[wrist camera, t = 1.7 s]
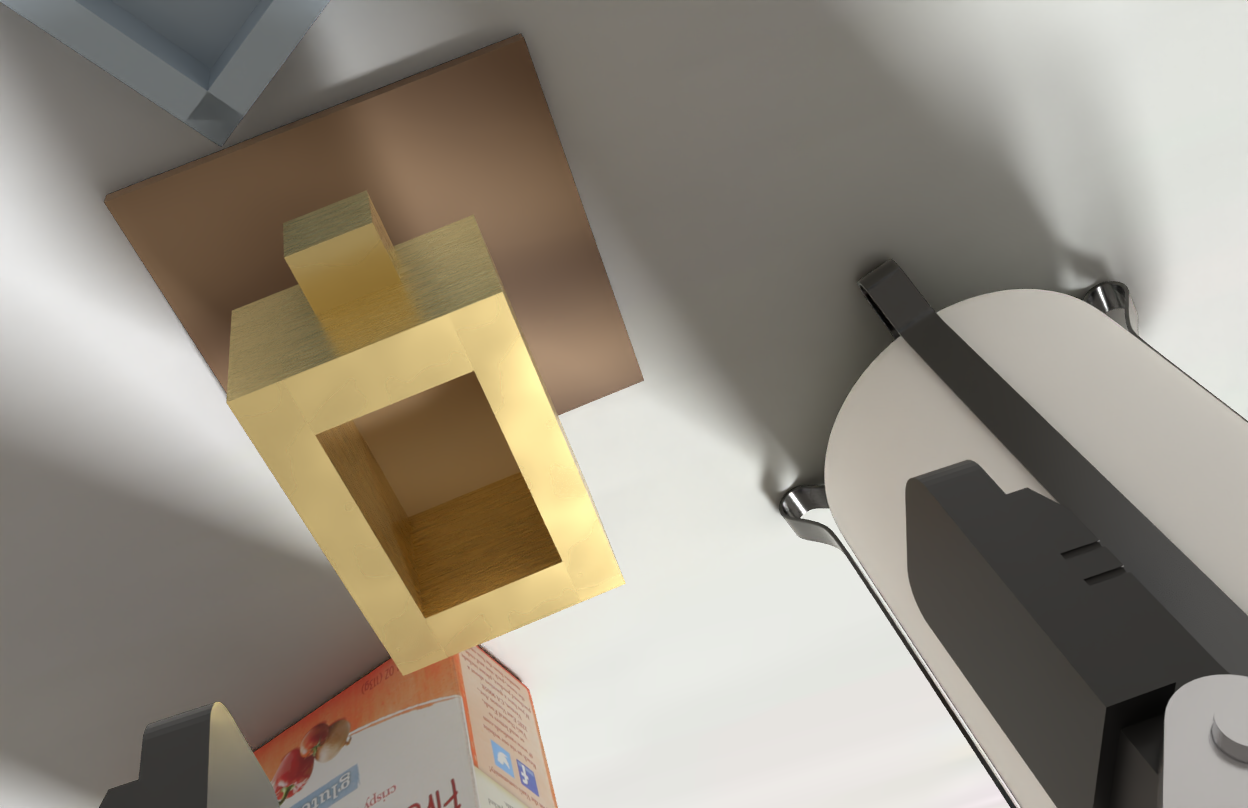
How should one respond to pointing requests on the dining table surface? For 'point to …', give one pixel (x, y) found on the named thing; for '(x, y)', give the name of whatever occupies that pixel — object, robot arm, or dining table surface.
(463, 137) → the brown piece
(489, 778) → the cracker box
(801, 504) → the coffee press
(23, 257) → the dining table surface
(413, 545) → the gold rectangular hollow block
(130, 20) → the tray
